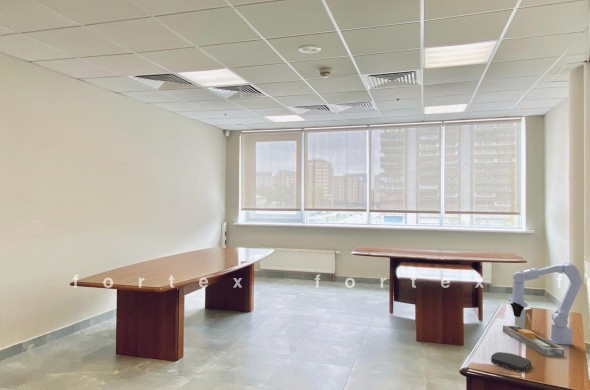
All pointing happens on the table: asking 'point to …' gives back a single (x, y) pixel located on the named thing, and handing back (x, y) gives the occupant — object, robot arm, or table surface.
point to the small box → (524, 319)
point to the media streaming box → (511, 361)
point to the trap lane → (535, 342)
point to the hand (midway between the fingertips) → (517, 316)
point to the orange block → (526, 333)
